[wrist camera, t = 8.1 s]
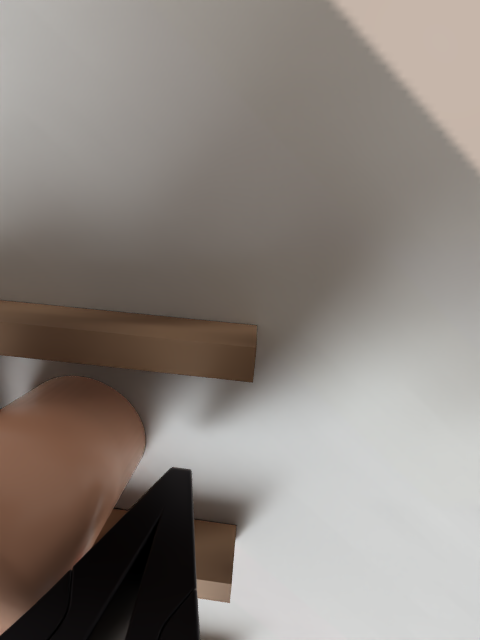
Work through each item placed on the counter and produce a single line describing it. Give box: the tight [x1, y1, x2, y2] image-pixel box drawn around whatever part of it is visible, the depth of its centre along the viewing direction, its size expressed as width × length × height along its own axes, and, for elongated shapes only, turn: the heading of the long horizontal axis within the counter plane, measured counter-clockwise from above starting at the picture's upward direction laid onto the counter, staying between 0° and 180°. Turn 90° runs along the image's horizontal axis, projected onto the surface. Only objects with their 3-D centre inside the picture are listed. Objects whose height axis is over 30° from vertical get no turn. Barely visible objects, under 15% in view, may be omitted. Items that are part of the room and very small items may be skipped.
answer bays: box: [0, 300, 257, 603], centre depth 10 cm, size 11×19×2 cm, turn 175°
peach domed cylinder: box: [0, 376, 146, 635], centre depth 8 cm, size 5×5×5 cm
